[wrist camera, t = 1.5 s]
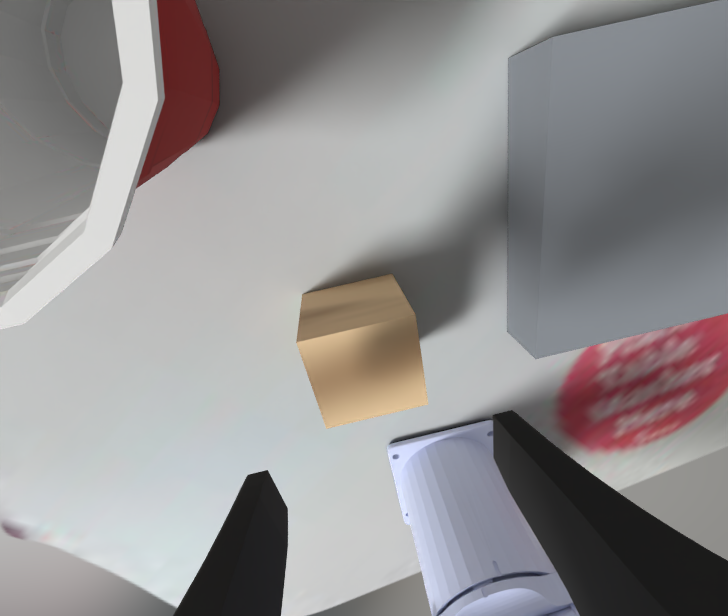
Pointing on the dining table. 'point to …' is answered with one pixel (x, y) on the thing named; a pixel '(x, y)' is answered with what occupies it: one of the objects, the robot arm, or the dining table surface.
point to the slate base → (618, 180)
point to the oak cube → (361, 350)
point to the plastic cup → (89, 128)
